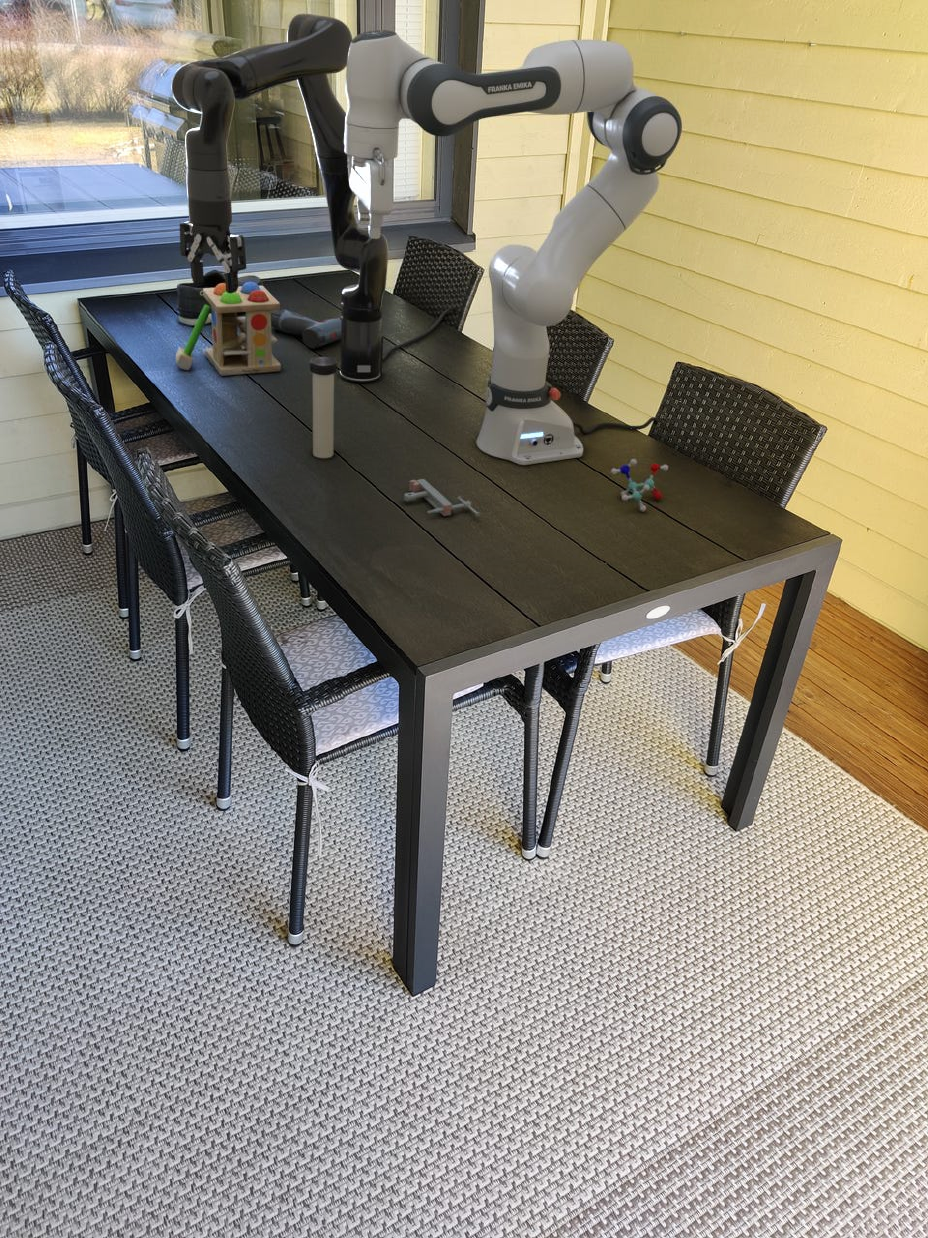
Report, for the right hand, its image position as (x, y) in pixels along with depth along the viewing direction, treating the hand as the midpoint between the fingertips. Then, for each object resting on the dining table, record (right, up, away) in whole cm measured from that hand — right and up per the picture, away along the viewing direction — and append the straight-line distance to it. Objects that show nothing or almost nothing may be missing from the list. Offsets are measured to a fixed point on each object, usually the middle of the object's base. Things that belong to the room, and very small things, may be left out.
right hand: (368, 230), depth 170 cm
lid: (-10, -19, +14) cm, 26 cm away
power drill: (-23, +6, +83) cm, 86 cm away
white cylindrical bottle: (-12, -35, +25) cm, 44 cm away
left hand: (-30, -6, +12) cm, 33 cm away
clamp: (+12, -47, +10) cm, 49 cm away
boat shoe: (-48, +16, +93) cm, 106 cm away
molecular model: (+49, -45, +19) cm, 69 cm away
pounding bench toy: (-40, -8, +60) cm, 72 cm away
